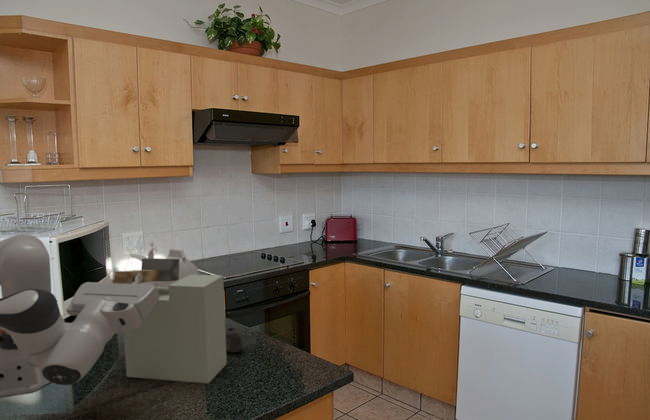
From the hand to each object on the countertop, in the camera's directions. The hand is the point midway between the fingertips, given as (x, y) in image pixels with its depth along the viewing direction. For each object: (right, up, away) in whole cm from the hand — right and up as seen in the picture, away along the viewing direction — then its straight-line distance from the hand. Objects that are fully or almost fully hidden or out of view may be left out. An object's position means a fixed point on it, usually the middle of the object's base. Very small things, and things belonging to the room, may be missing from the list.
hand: (131, 274), depth 118 cm
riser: (+7, -29, +13) cm, 33 cm away
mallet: (+1, -3, +5) cm, 6 cm away
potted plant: (-28, -22, +83) cm, 90 cm away
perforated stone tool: (+19, -27, +29) cm, 44 cm away
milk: (-6, -25, +58) cm, 63 cm away
